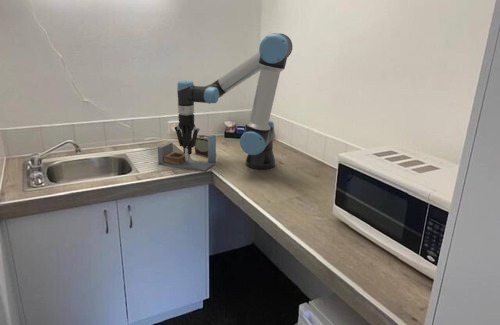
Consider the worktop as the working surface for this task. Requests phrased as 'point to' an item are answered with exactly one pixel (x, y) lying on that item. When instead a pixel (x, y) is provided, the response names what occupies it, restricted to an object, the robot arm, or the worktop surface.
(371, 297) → the worktop surface
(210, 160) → the dowel
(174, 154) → the socket block
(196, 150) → the food container
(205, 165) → the board
